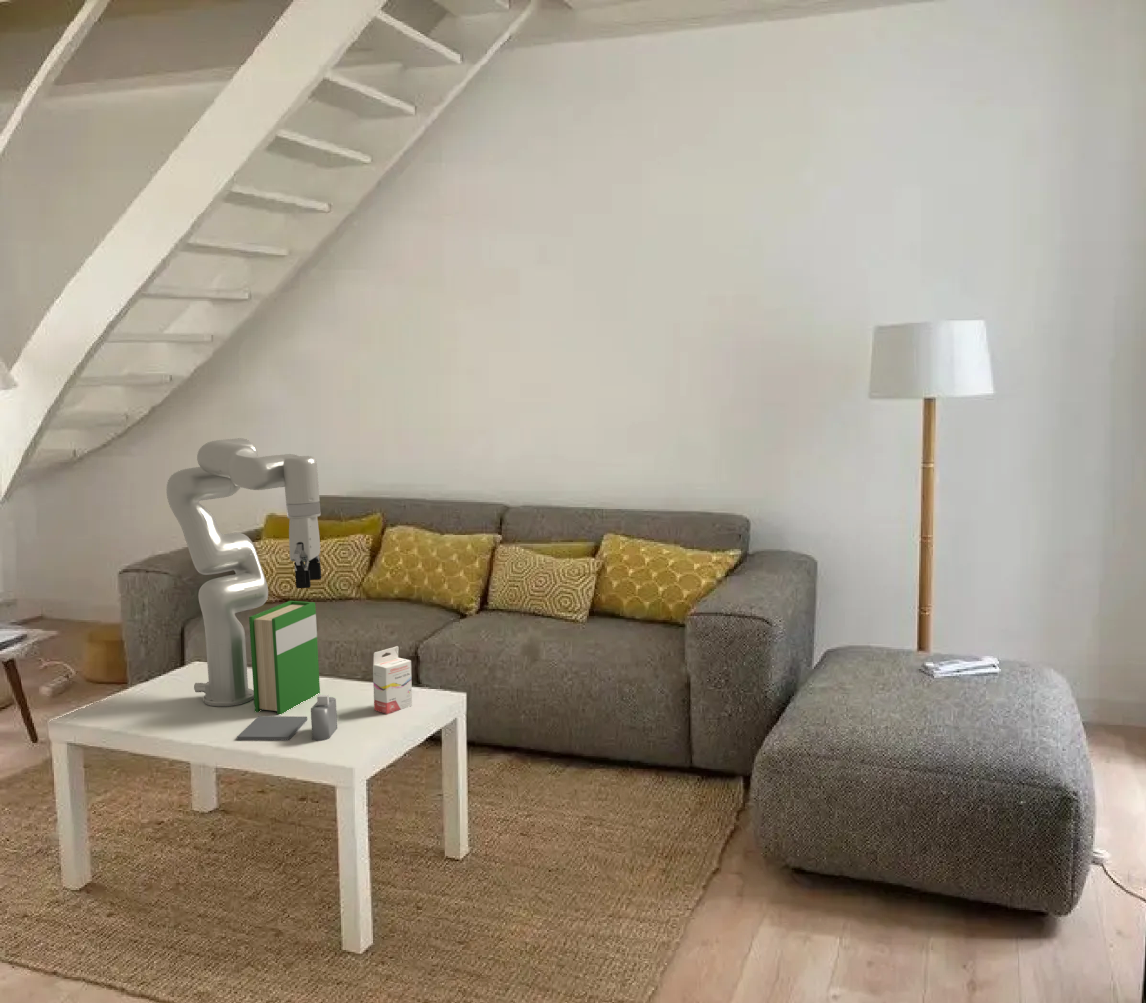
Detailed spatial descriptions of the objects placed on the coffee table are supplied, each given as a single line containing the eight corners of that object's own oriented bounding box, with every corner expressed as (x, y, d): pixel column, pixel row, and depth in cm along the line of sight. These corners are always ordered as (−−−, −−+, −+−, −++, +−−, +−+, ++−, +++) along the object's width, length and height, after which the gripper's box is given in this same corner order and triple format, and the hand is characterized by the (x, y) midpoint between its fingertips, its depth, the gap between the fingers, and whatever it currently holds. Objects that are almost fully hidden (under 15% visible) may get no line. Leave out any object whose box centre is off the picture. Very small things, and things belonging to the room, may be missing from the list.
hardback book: (280, 714, 279) (274, 619, 275) (254, 712, 281) (249, 617, 278) (320, 693, 295) (315, 602, 292) (295, 690, 298) (290, 600, 294)
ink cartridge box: (387, 715, 277) (384, 656, 275) (373, 711, 281) (371, 652, 278) (413, 705, 284) (411, 648, 282) (400, 701, 287) (397, 645, 285)
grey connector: (310, 740, 261) (307, 702, 259) (322, 725, 271) (320, 689, 269) (327, 740, 260) (325, 702, 259) (339, 725, 270) (337, 689, 269)
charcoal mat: (237, 739, 262) (237, 736, 262) (258, 719, 276) (258, 716, 276) (288, 740, 261) (288, 737, 261) (307, 719, 275) (307, 716, 275)
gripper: (297, 506, 271) (302, 577, 273) (276, 516, 254) (282, 591, 256) (328, 504, 270) (334, 575, 273) (310, 514, 253) (315, 590, 255)
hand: (309, 583), depth 264 cm, fingers open, 9 cm apart
